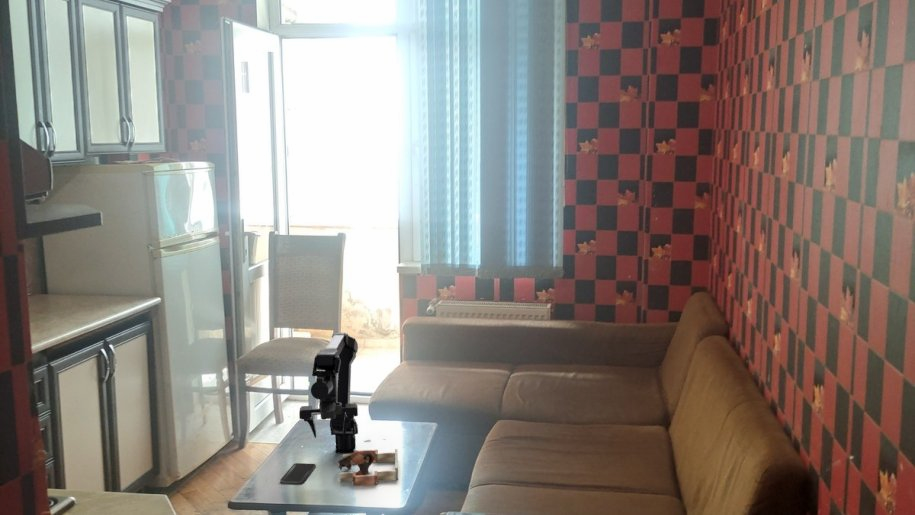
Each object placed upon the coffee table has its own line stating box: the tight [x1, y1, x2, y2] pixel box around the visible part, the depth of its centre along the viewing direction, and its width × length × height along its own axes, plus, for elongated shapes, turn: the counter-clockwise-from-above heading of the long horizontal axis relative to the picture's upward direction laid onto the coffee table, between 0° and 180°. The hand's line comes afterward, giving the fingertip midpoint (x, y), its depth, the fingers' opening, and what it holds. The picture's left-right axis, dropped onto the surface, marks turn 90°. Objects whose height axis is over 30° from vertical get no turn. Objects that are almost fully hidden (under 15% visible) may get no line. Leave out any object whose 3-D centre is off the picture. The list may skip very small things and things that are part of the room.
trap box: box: [339, 448, 399, 487], centre depth 272 cm, size 18×22×4 cm
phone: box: [279, 462, 317, 485], centre depth 270 cm, size 8×1×15 cm
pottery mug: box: [337, 450, 374, 476], centre depth 271 cm, size 12×10×8 cm
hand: (329, 436), depth 270 cm, fingers open, 9 cm apart
